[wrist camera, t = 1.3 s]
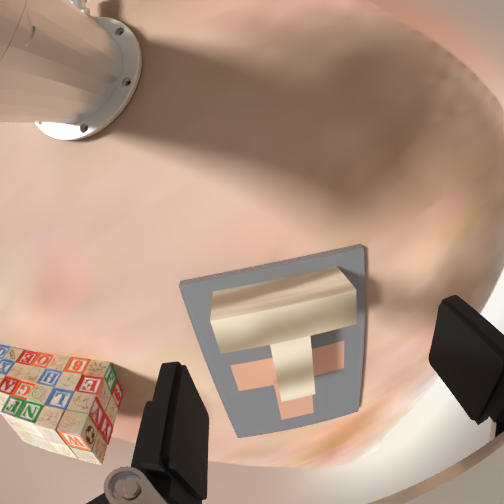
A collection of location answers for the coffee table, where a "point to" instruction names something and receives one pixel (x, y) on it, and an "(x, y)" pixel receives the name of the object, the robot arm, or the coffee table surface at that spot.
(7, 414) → the stack of blocks
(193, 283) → the board
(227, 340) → the T block
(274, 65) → the coffee table surface
